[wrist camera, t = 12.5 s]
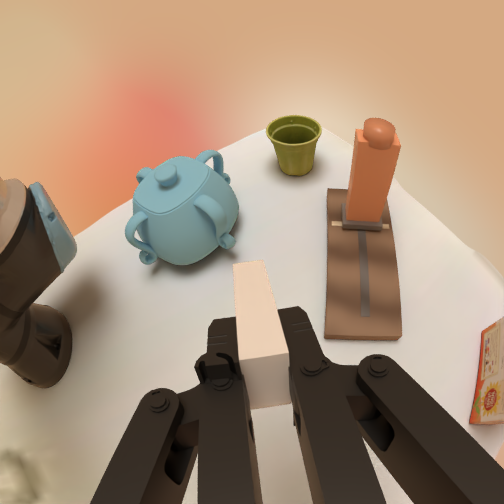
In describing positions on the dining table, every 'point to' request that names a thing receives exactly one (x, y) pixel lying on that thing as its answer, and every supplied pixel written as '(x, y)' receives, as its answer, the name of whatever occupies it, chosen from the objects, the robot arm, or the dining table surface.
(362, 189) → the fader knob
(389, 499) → the dining table surface
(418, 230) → the dining table surface
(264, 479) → the dining table surface
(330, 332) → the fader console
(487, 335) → the cracker box
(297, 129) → the plant pot
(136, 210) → the decorative pot
